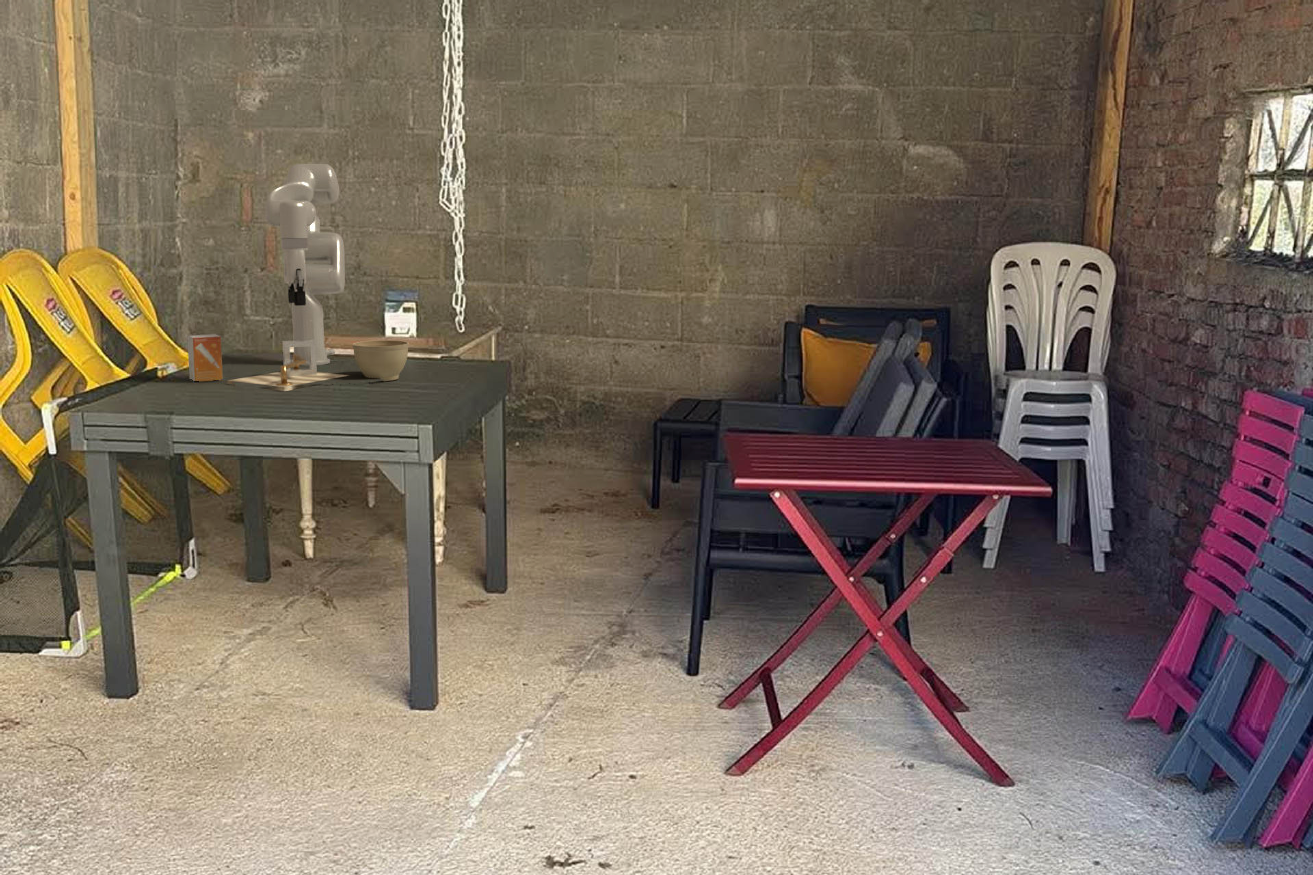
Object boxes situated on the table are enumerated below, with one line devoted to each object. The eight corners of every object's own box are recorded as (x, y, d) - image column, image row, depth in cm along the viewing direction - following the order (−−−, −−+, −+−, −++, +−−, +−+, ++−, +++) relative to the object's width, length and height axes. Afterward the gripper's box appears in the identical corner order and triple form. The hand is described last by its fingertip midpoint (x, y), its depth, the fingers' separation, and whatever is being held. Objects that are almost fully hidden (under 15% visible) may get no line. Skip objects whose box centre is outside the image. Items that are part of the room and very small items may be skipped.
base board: (294, 373, 387) (294, 369, 387) (349, 379, 377) (349, 375, 376) (227, 384, 365) (227, 380, 364) (284, 391, 354) (284, 386, 354)
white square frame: (284, 374, 376) (282, 341, 374) (315, 373, 380) (313, 339, 378) (285, 376, 373) (284, 342, 371) (317, 374, 377) (315, 341, 375)
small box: (194, 382, 368) (192, 337, 366) (189, 379, 373) (186, 335, 371) (223, 380, 373) (221, 335, 370) (217, 377, 378) (215, 333, 375)
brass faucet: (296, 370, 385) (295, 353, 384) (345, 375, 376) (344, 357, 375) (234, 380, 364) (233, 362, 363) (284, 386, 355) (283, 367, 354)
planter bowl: (405, 374, 387) (404, 339, 385) (413, 382, 372) (412, 345, 370) (351, 376, 382) (350, 340, 380) (356, 384, 367) (355, 347, 365)
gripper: (276, 243, 375) (279, 302, 379) (286, 246, 360) (288, 306, 363) (302, 243, 379) (305, 301, 382) (313, 245, 363) (315, 306, 366)
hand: (297, 304), depth 372 cm, fingers open, 9 cm apart
